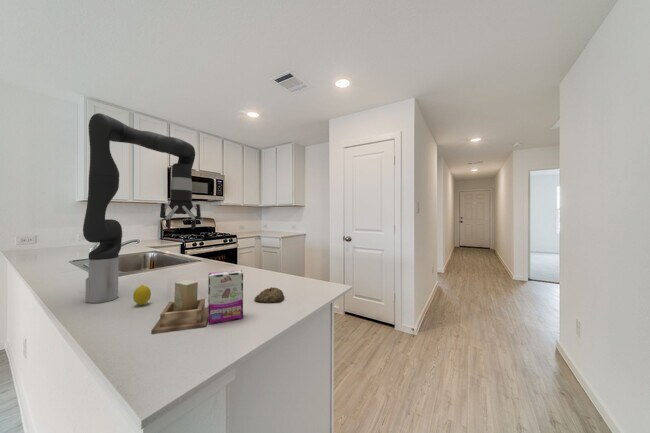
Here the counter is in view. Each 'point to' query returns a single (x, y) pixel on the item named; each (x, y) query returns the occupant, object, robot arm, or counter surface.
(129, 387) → the counter surface
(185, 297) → the skincare box
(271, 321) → the counter surface
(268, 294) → the bread roll
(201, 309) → the walnut stand
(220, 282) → the candy bar box
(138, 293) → the lemon
